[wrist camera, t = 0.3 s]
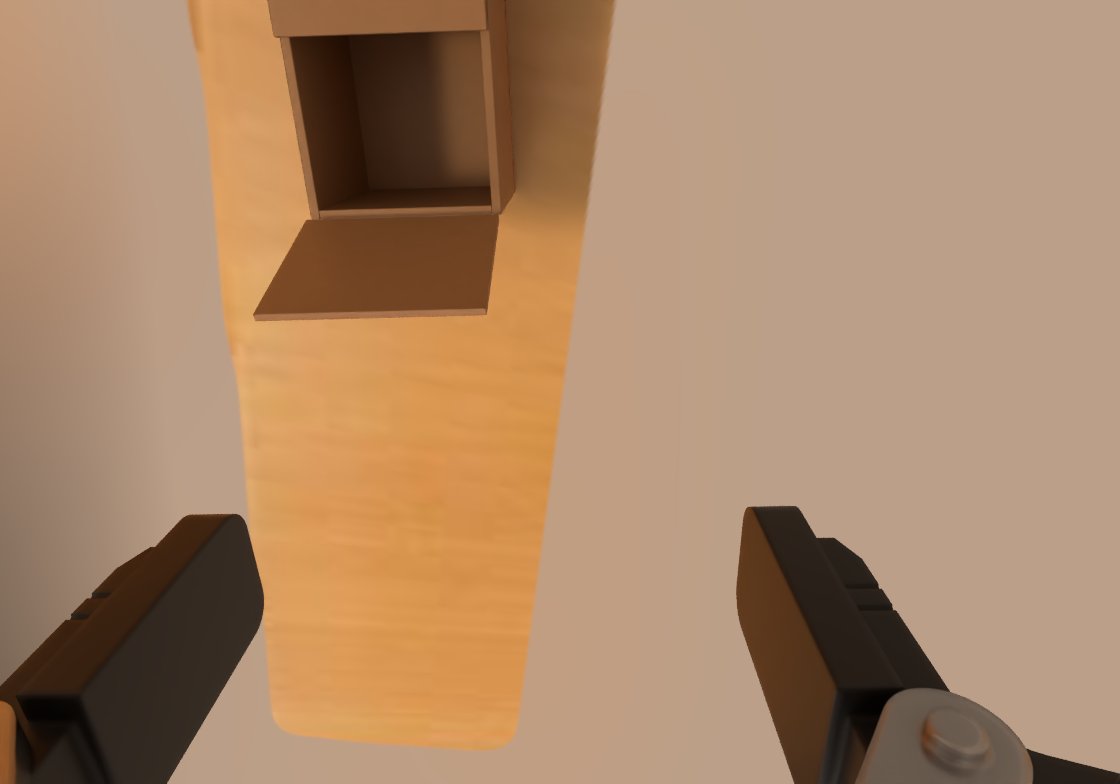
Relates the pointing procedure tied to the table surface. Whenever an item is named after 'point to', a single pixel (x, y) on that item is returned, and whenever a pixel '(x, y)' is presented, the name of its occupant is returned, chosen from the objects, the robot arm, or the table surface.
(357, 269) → the flap
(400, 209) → the carton
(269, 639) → the table surface
